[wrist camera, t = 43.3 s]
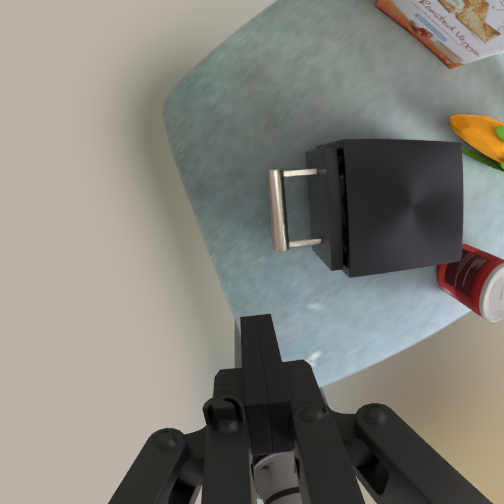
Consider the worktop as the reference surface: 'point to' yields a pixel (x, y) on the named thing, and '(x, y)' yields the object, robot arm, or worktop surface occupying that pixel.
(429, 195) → the box
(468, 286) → the canned food
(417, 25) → the cracker box
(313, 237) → the black pull-out drawer
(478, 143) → the corn
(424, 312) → the worktop surface
